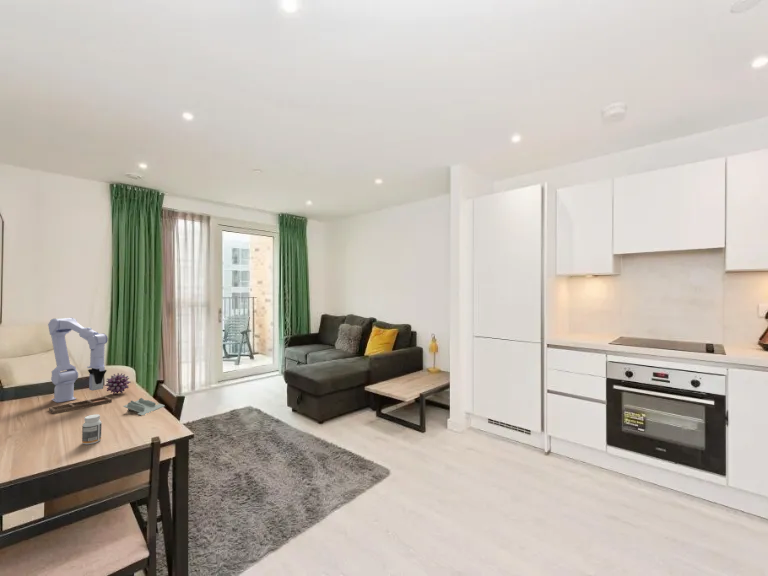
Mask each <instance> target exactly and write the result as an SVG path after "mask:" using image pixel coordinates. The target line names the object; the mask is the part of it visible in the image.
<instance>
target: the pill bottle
mask: <svg viewBox="0 0 768 576" xmlns="http://www.w3.org/2000/svg"><path fill="white" fill-rule="evenodd" d="M100 419H101V415H100V414H98V413H97V414H90V415H87V416H85V417H84V423H83V424H82V428H81V429H82V431H81V433H82V434H81V439H82V440H81V443H82V444H83V445H94V444H96V443H99V442H100V441H101V440H102V424H103V423H102V420H100Z"/></svg>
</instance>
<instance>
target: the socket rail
mask: <svg viewBox="0 0 768 576" xmlns="http://www.w3.org/2000/svg"><path fill="white" fill-rule="evenodd" d="M108 402H109V403H112V398H110V397H108V396H101V397H96V398H92V399H91V398H90V399H86V400H80V401H75V402H70V403H65V404H61V405H55V406H50V407H48V412H49V413H52V414H53V415H56V414H60V413H64V412H65V413H66V412H69V411H74V410H78V409H83V408H89V407H93V406H98V405H103V404H108Z"/></svg>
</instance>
